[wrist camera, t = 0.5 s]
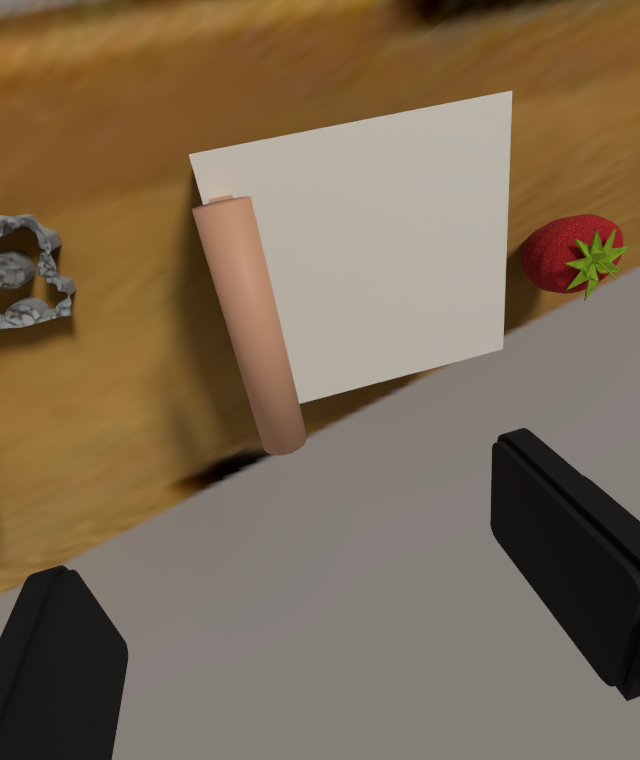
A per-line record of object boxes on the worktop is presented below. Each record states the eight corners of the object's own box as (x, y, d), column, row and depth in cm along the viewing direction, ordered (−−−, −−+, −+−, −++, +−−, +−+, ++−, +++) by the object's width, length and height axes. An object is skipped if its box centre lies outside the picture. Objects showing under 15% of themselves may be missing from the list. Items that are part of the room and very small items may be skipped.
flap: (505, 92, 24) (629, 63, 17) (498, 346, 32) (582, 400, 25) (185, 155, 22) (172, 153, 15) (259, 410, 30) (273, 489, 23)
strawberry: (565, 264, 41) (661, 292, 32) (492, 285, 40) (569, 320, 31) (569, 198, 38) (676, 210, 29) (490, 220, 37) (575, 238, 28)
